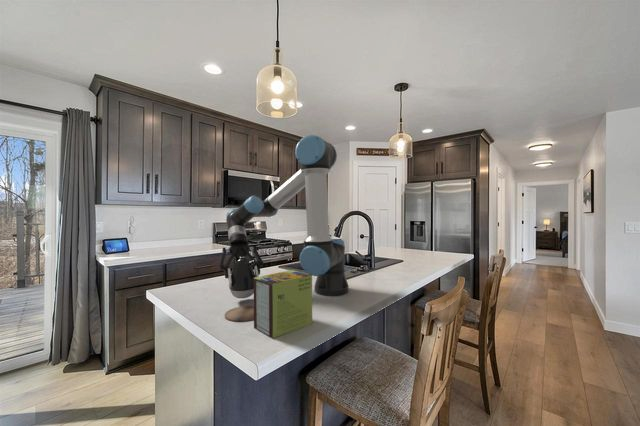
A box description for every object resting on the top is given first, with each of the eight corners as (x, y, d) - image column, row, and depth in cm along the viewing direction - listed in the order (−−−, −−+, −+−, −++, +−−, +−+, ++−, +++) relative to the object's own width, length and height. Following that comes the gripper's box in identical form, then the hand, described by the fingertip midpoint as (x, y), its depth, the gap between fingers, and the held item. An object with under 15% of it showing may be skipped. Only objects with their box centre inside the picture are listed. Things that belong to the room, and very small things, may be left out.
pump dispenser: (250, 301, 103) (249, 260, 103) (224, 299, 105) (223, 259, 105) (261, 293, 113) (260, 256, 113) (237, 292, 115) (237, 255, 115)
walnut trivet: (264, 306, 103) (264, 305, 103) (263, 320, 90) (263, 318, 90) (228, 308, 101) (228, 307, 101) (221, 323, 88) (221, 321, 88)
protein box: (313, 323, 88) (312, 274, 88) (272, 339, 77) (272, 283, 77) (292, 314, 95) (292, 269, 95) (252, 328, 84) (252, 277, 84)
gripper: (262, 242, 127) (271, 284, 113) (210, 245, 118) (212, 292, 104) (264, 231, 122) (274, 274, 108) (210, 234, 113) (213, 281, 99)
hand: (244, 283), depth 106 cm, fingers closed on pump dispenser, 10 cm apart
